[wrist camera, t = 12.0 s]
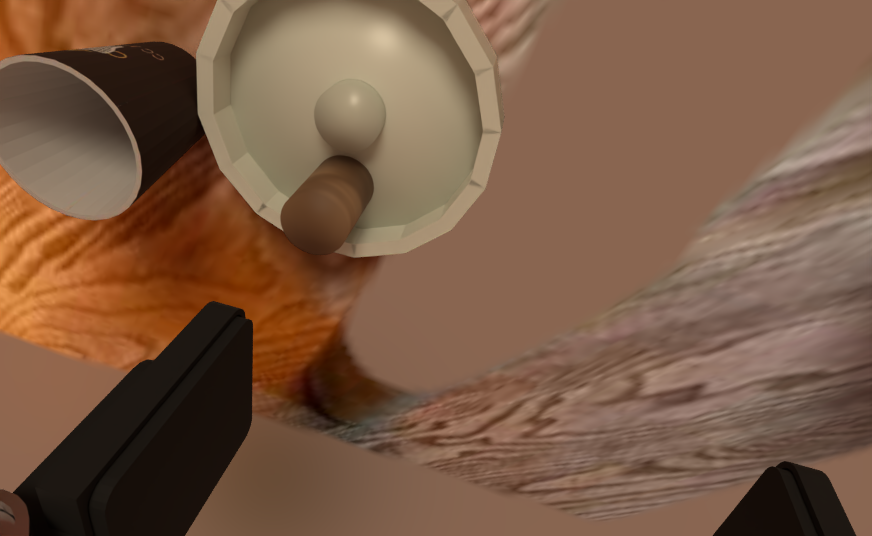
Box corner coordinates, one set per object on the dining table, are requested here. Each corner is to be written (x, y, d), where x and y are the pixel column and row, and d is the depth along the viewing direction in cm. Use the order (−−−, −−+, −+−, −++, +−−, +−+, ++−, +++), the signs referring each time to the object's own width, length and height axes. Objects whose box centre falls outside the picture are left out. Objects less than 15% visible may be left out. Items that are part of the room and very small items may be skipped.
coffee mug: (242, 54, 35) (146, 96, 26) (224, 174, 40) (137, 242, 31) (61, -20, 34) (-95, 0, 26) (64, 111, 39) (-67, 163, 31)
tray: (540, -12, 30) (540, -6, 28) (463, 262, 40) (458, 285, 38) (220, -93, 31) (192, -94, 28) (221, 198, 41) (200, 216, 38)
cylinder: (377, 164, 36) (351, 203, 31) (369, 217, 38) (343, 262, 33) (318, 148, 36) (282, 185, 31) (313, 202, 39) (278, 245, 34)
